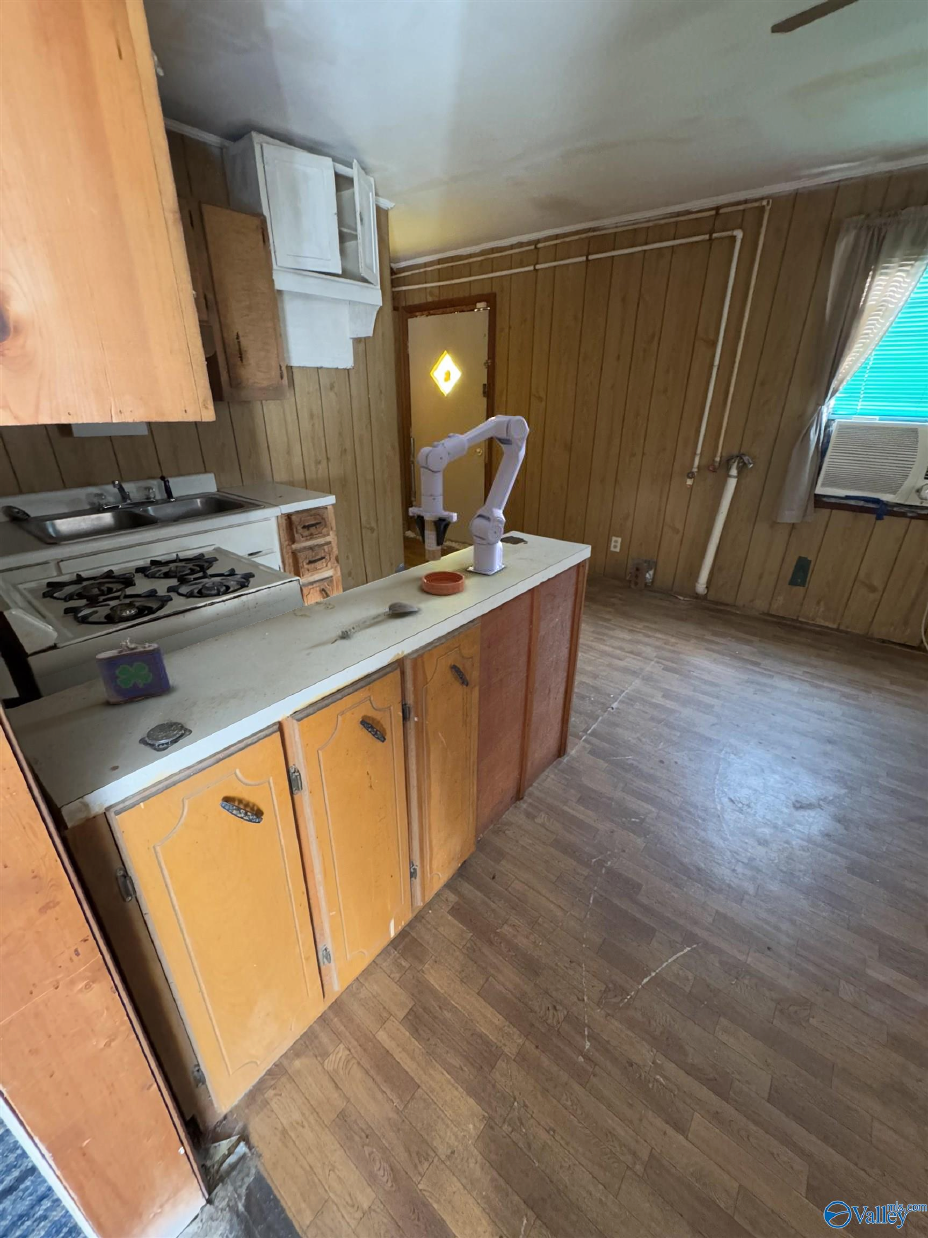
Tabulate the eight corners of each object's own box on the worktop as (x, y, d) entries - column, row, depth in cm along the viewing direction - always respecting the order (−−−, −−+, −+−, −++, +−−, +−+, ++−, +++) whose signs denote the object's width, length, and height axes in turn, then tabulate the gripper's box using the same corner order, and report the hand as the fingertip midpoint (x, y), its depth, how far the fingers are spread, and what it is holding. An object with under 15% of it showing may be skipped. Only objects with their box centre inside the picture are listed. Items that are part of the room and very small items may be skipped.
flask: (108, 706, 84) (90, 649, 80) (111, 697, 86) (93, 641, 82) (171, 693, 88) (156, 638, 83) (171, 685, 90) (157, 631, 86)
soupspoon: (424, 614, 122) (405, 608, 126) (423, 600, 121) (404, 595, 125) (352, 641, 107) (333, 634, 110) (351, 626, 105) (332, 619, 109)
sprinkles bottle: (435, 555, 144) (434, 509, 139) (444, 559, 141) (444, 511, 136) (421, 558, 142) (420, 511, 136) (431, 562, 138) (430, 513, 133)
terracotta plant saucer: (437, 578, 145) (437, 568, 143) (472, 585, 139) (472, 575, 138) (413, 590, 136) (413, 579, 134) (450, 598, 130) (450, 587, 129)
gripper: (401, 493, 134) (403, 543, 140) (446, 499, 128) (446, 551, 133) (416, 490, 140) (418, 537, 145) (461, 495, 133) (460, 545, 139)
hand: (432, 543), depth 140 cm, fingers closed on sprinkles bottle, 4 cm apart
